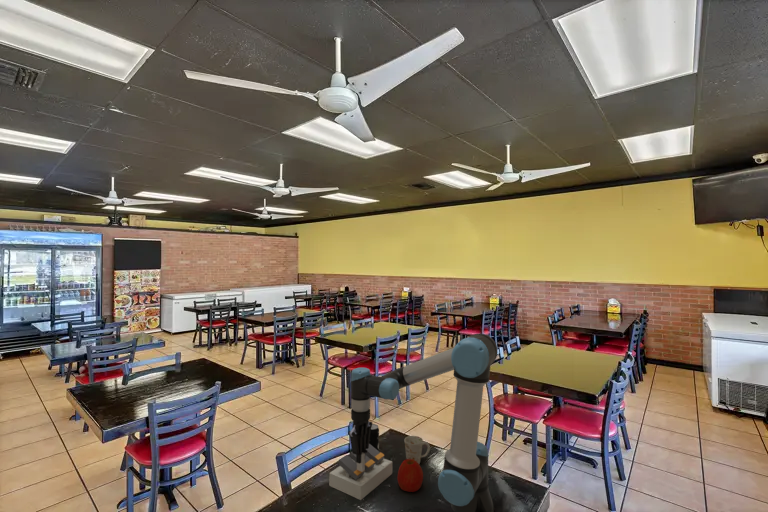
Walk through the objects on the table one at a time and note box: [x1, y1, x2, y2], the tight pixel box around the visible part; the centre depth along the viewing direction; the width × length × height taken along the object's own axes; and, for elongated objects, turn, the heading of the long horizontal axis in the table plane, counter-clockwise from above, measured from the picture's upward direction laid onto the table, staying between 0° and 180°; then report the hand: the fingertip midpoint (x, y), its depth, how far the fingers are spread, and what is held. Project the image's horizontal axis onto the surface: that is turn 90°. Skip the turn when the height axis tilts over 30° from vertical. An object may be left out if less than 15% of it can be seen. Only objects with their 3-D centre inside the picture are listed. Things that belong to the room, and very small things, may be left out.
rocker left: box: [337, 454, 365, 480], centre depth 144 cm, size 10×5×2 cm, turn 55°
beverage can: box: [369, 423, 380, 452], centre depth 173 cm, size 7×7×12 cm
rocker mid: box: [348, 451, 375, 472], centre depth 150 cm, size 10×5×2 cm, turn 55°
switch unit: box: [328, 458, 393, 501], centre depth 150 cm, size 16×22×7 cm
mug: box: [403, 435, 431, 465], centre depth 165 cm, size 8×13×10 cm, turn 115°
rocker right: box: [365, 444, 385, 464], centre depth 156 cm, size 10×5×2 cm, turn 55°
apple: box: [397, 458, 424, 493], centre depth 145 cm, size 10×10×10 cm
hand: (360, 469), depth 142 cm, fingers closed
